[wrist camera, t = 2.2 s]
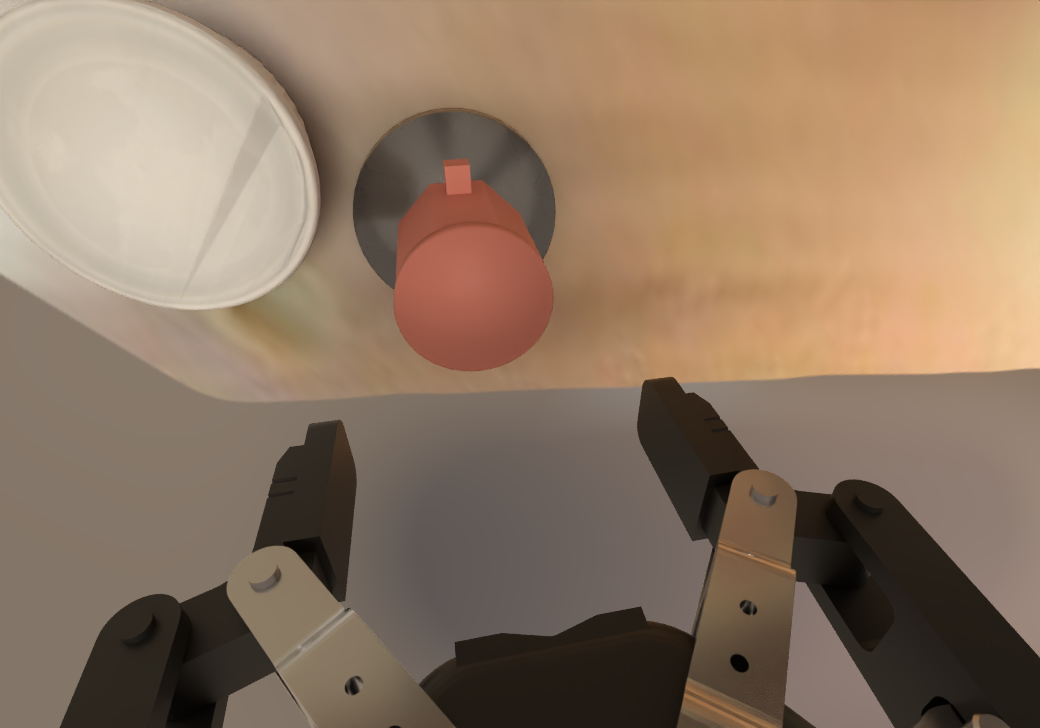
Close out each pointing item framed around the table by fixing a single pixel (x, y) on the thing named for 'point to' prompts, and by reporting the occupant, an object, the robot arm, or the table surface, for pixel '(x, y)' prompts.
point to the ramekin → (152, 153)
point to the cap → (468, 276)
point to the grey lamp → (419, 162)
